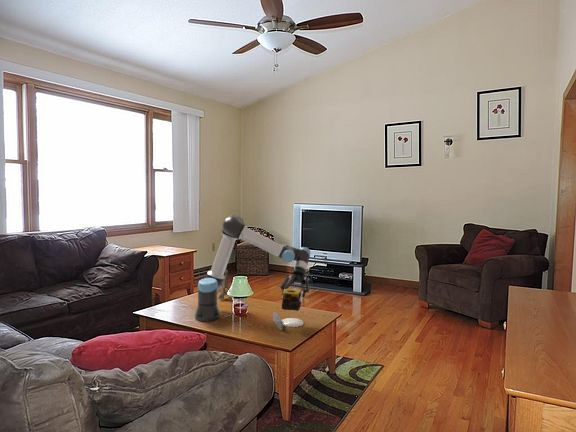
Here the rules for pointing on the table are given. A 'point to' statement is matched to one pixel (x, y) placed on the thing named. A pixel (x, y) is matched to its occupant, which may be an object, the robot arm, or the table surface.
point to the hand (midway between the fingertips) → (291, 300)
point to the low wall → (278, 321)
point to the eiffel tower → (224, 287)
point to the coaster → (292, 322)
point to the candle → (291, 299)
